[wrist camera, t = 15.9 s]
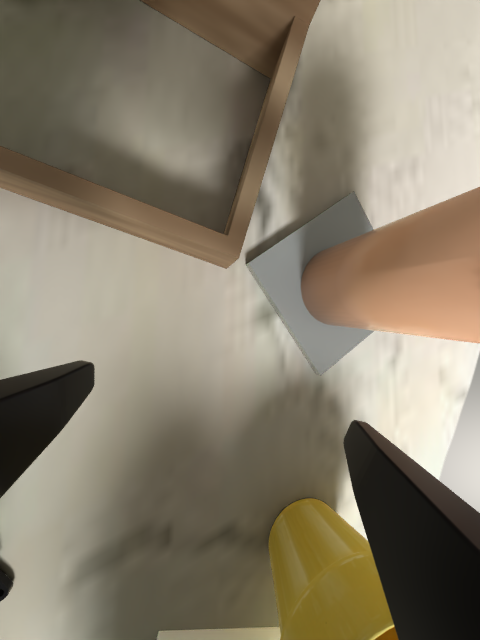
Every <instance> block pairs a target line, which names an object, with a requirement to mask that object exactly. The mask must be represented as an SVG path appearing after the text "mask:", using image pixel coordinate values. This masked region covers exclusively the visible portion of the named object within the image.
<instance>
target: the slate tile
mask: <svg viewBox="0 0 480 640" xmlns="http://www.w3.org/2000/svg"><path fill="white" fill-rule="evenodd" d="M372 230H373V228H372V226H371V224H370V222H369V220H368V218H367V216H366V214H365V212H364V210H363V208H362V206H361V204H360V202H359V200H358V198H357V196H356V194H355V192H354V191H353V192H352V193H350V194H349V195H347V196H346V197H345V198H343V199H342V200H340V201H339V202H337V203H336V204H334V205H333V206H331V207H330V208H328V209H327V210H325V211H324V212H323V213H321V214H320V215H318V216H317V217H315V218H314V219H312V220H311V221H309V222H308V223H306V224H305V225H303V226H302V227H301V228H299V229H298V230H296V231H295V232H293V233H292V234H290V235H289V236H287V237H286V238H284V239H283V240H281V241H280V242H278V243H277V244H276V245H274V246H273V247H271V248H270V249H268V250H267V251H265V252H264V253H262V254H261V255H259V256H258V257H256V258H255V259H254V260H252V261H251V262H249V263H248V264H246V266H247V267H248V269H249V270H250V272H251V273H252V275H253V276H254V278H255V280H256V281H257V283H258V284H259V286H260V287H261V289H262V290H263V292H264V294H265V295H266V297H267V298H268V300H269V301H270V303H271V305H272V306H273V308H274V309H275V311H276V312H277V314H278V315H279V317H280V319H281V320H282V322H283V323H284V325H285V326H286V328H287V329H288V331H289V333H290V334H291V336H292V337H293V339H294V340H295V342H296V344H297V345H298V347H299V348H300V350H301V351H302V353H303V354H304V356H305V358H306V359H307V361H308V362H309V364H310V365H311V367H312V368H313V370H314V372H315V373H316V374H318V375H320V376H321V375H322V374H323V373H324V372H326V371H327V370H328V369H329V368H330V367H332V366H333V365H334V364H335V363H336V362H338V361H339V360H340V359H341V358H342V357H344V356H345V355H346V354H347V353H348V352H350V351H351V350H352V349H353V348H354V347H355V346H357V345H358V344H359V343H360V342H361V341H363V340H364V339H365V338H366V337H367V336H369V335H370V334H371V333H372V332H373V331H374V330H366V329H358V328H349V327H341V326H333V325H327V324H324V323H322V322H320V321H318V320H317V319H315V318H314V317H313V316H312V315H311V314H310V313H309V311H308V310H307V308H306V306H305V304H304V302H303V299H302V294H301V280H302V275H303V272H304V270H305V267H306V265H307V264H308V262H309V261H310V260H311V259H312V258H313V257H314V256H315V255H316V254H317V253H319V252H321V251H323V250H325V249H328V248H330V247H332V246H335V245H337V244H340V243H342V242H345V241H347V240H350V239H352V238H355V237H357V236H360V235H362V234H365V233H367V232H369V231H372Z"/></svg>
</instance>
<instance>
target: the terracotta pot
mask: <svg viewBox="0 0 480 640" xmlns="http://www.w3.org/2000/svg"><path fill="white" fill-rule="evenodd" d="M301 294H302V299H303V302H304V304H305V306H306V308H307V310H308V311H309V313H310V314H311V315H312V316H313V317H314V318H315V319H317V320H318V321H320V322H322V323H324V324H327V325H333V326H341V327H349V328H358V329H366V330H374V331H382V332H390V333H399V334H407V335H415V336H423V337H431V338H439V339H448V340H456V341H464V342H472V343H480V187H478V188H476V189H473V190H471V191H468V192H466V193H463V194H461V195H458V196H456V197H453V198H451V199H448V200H446V201H444V202H441V203H439V204H436V205H434V206H431V207H429V208H426V209H424V210H421V211H419V212H416V213H414V214H411V215H409V216H407V217H404V218H402V219H399V220H397V221H394V222H392V223H389V224H387V225H384V226H382V227H379V228H377V229H374V230H372V231H369V232H367V233H365V234H362V235H360V236H357V237H355V238H352V239H350V240H347V241H345V242H342V243H340V244H337V245H335V246H332V247H330V248H328V249H325V250H323V251H321V252H319V253H317V254H316V255H315V256H314V257H313V258H312V259H311V260H310V261H309V262H308V264H307V265H306V267H305V270H304V272H303V275H302V280H301Z"/></svg>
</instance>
